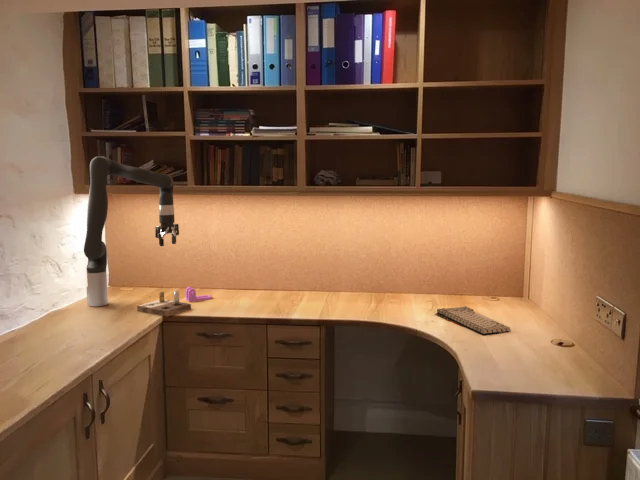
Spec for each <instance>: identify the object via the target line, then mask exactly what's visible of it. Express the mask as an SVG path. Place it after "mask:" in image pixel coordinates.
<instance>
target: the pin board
mask: <svg viewBox="0 0 640 480" xmlns="http://www.w3.org/2000/svg"><path fill="white" fill-rule="evenodd" d="M158 296H159V299H156V300H153V301H149V302H146V303H143V304H140V305H137V306H136V310H137V312H140V313H146V314H151V315H157V316H161V317H171V316H173V315H177V314H180V313H182V312H185V311H189V310H191V309H192V307H191V306H192V303H189V302H181V301H179V305H178V306H174V300H170V299H165V291H159V292H158Z"/></svg>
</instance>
